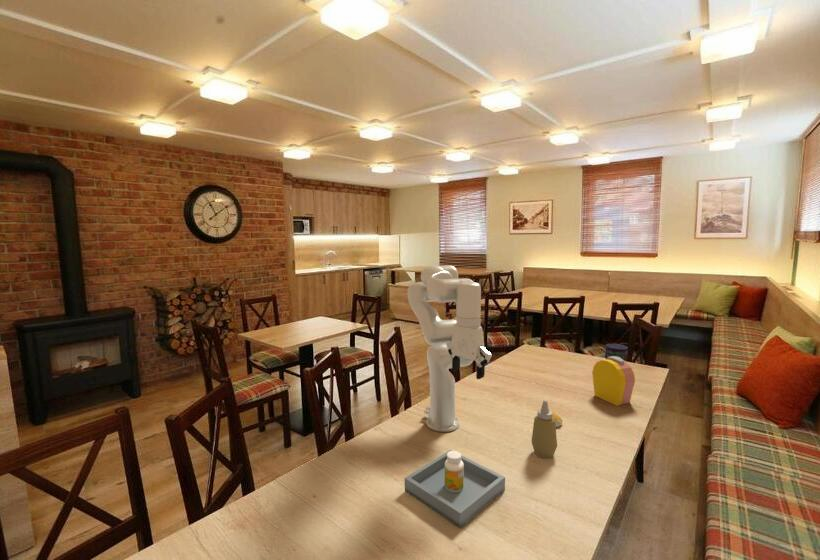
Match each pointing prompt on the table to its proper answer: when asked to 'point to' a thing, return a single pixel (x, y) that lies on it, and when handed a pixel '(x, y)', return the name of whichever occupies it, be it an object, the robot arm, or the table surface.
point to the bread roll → (557, 419)
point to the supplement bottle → (454, 472)
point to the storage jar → (616, 351)
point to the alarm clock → (613, 380)
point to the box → (455, 505)
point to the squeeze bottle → (544, 432)
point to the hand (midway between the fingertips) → (467, 373)
